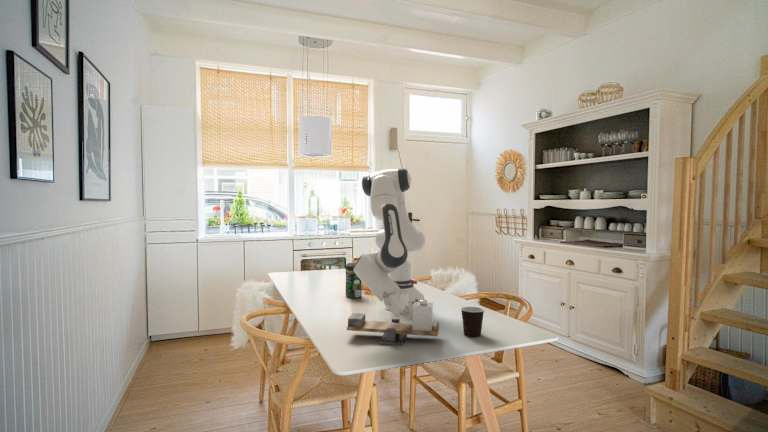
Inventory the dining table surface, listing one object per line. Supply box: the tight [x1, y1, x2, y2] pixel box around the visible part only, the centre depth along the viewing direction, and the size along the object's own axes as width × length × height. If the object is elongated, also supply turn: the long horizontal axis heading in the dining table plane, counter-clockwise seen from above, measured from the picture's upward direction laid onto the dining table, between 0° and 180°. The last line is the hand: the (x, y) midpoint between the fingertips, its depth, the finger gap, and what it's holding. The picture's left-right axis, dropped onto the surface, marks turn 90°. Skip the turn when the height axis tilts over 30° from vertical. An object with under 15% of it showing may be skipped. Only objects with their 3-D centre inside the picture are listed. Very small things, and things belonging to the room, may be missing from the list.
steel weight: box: [412, 299, 434, 332], centre depth 156 cm, size 7×7×10 cm
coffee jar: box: [345, 262, 362, 299], centre depth 230 cm, size 10×8×19 cm
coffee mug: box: [461, 306, 485, 338], centre depth 164 cm, size 12×9×10 cm
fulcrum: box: [379, 318, 406, 347], centre depth 159 cm, size 8×16×6 cm, turn 171°
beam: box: [346, 312, 440, 337], centre depth 159 cm, size 34×10×4 cm, turn 81°
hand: (411, 317), depth 157 cm, fingers closed
